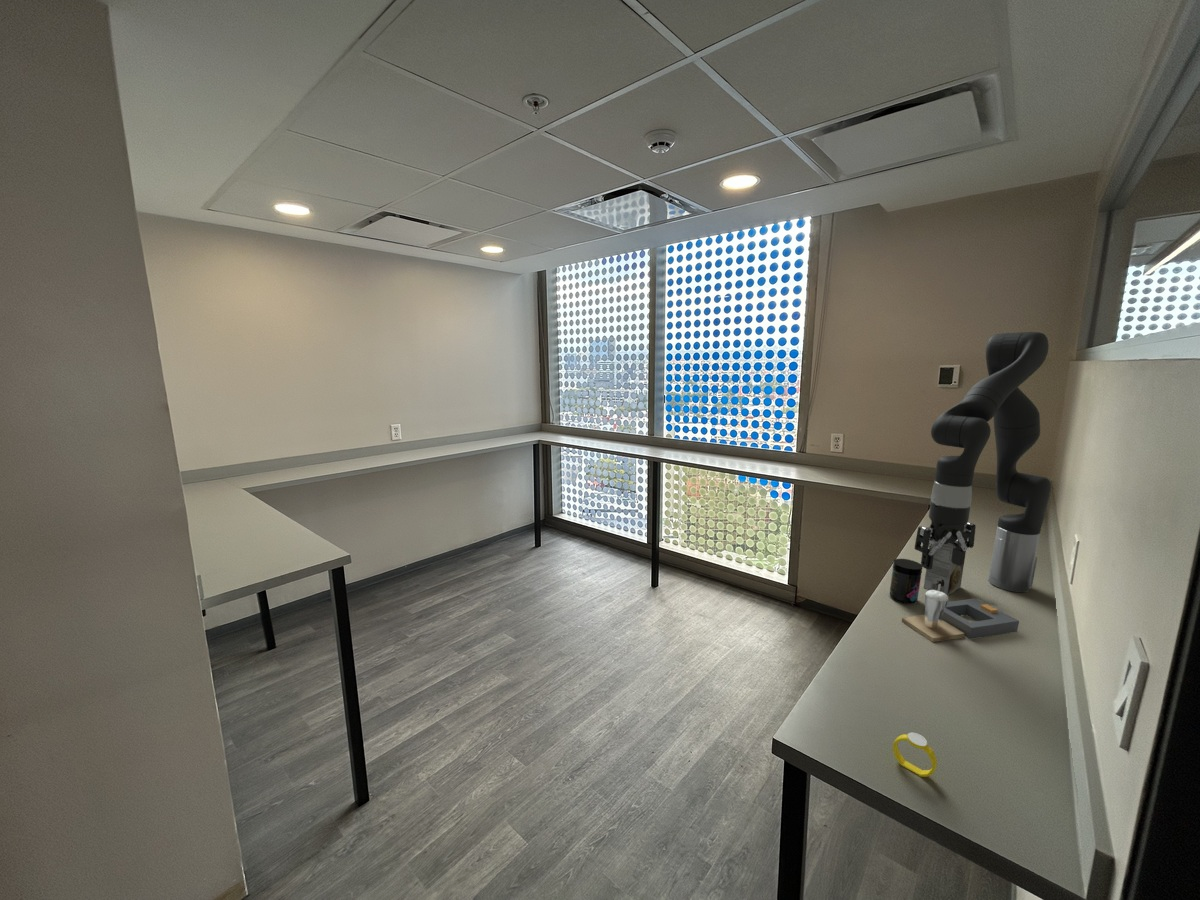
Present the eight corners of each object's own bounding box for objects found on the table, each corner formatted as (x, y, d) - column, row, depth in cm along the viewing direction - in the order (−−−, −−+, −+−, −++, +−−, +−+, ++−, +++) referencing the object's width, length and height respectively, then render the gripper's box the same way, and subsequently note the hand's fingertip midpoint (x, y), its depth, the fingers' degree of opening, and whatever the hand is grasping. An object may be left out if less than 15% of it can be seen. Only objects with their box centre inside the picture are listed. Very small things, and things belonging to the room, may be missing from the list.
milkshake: (945, 624, 119) (951, 586, 117) (942, 633, 115) (948, 595, 113) (923, 617, 122) (928, 581, 120) (919, 626, 118) (925, 588, 116)
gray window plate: (974, 608, 127) (976, 595, 127) (1017, 631, 117) (1019, 617, 116) (929, 614, 125) (931, 601, 124) (969, 639, 114) (972, 624, 113)
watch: (934, 777, 78) (942, 747, 76) (929, 787, 76) (937, 756, 75) (894, 751, 82) (901, 723, 81) (888, 760, 81) (895, 731, 79)
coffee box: (936, 579, 144) (943, 528, 141) (961, 587, 139) (969, 534, 135) (922, 587, 139) (929, 535, 136) (947, 596, 134) (956, 542, 130)
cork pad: (931, 617, 123) (931, 613, 123) (964, 637, 115) (964, 633, 115) (901, 621, 122) (902, 617, 121) (932, 642, 113) (933, 638, 113)
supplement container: (902, 606, 129) (907, 570, 127) (883, 594, 135) (887, 559, 133) (923, 603, 130) (928, 567, 128) (903, 591, 137) (908, 557, 134)
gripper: (960, 494, 116) (951, 556, 120) (911, 499, 114) (903, 562, 117) (991, 503, 109) (981, 569, 113) (939, 509, 106) (930, 576, 110)
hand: (941, 566), depth 115 cm, fingers open, 8 cm apart
